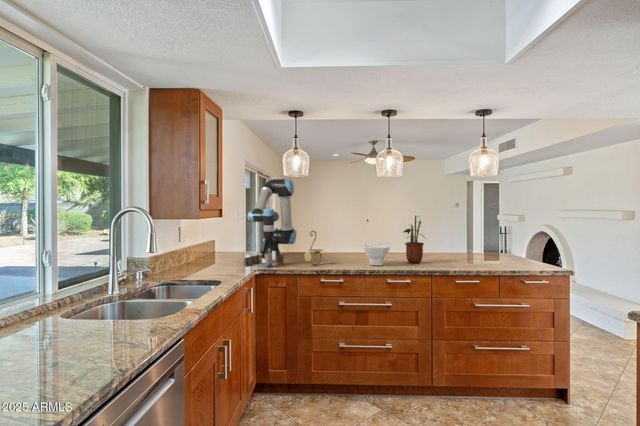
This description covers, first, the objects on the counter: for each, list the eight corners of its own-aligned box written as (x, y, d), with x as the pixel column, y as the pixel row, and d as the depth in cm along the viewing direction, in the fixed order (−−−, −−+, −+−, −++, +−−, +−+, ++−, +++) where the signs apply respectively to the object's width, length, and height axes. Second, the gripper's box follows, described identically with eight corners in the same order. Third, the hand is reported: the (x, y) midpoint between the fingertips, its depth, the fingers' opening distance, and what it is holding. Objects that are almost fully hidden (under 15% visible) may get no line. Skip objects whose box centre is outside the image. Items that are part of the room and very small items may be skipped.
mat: (260, 264, 277) (260, 264, 277) (276, 265, 271) (276, 265, 271) (253, 266, 267) (253, 266, 267) (269, 268, 262) (269, 267, 262)
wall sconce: (312, 267, 266) (312, 231, 265) (303, 265, 272) (303, 230, 272) (326, 264, 276) (326, 230, 275) (317, 263, 282) (317, 229, 282)
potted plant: (409, 261, 290) (409, 215, 290) (429, 263, 282) (429, 215, 281) (400, 264, 276) (400, 215, 275) (421, 266, 267) (421, 216, 266)
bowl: (362, 263, 282) (362, 244, 282) (389, 263, 280) (389, 244, 280) (362, 267, 264) (362, 247, 263) (391, 267, 261) (391, 247, 261)
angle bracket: (272, 265, 271) (272, 253, 270) (267, 267, 265) (267, 254, 265) (261, 265, 274) (261, 252, 274) (256, 266, 269) (256, 253, 268)
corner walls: (257, 262, 286) (257, 254, 286) (283, 264, 277) (283, 256, 277) (243, 266, 269) (243, 258, 269) (271, 268, 261) (270, 259, 260)
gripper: (273, 229, 280) (273, 258, 281) (254, 232, 257) (254, 263, 258) (282, 230, 277) (282, 259, 278) (264, 232, 254) (264, 264, 255)
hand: (269, 261), depth 268 cm, fingers open, 13 cm apart
